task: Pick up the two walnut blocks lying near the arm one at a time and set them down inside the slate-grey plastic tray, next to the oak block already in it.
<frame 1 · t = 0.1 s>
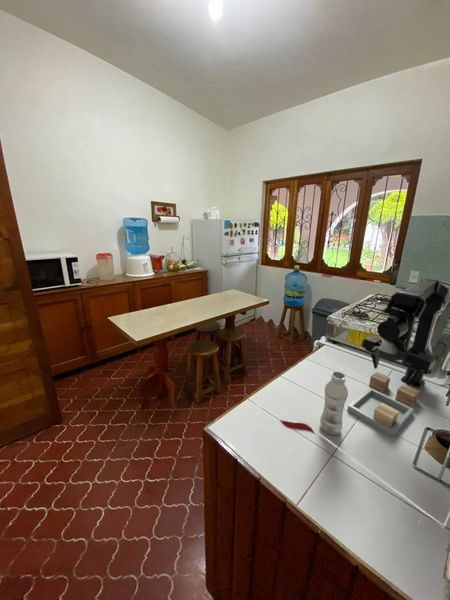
hand: (390, 374, 81), 15 cm above the kitchen counter, fingers open, 9 cm apart
block c: (383, 422, 80), resting on tray
cayenne pepper: (297, 427, 79), on the kitchen counter
block a: (405, 401, 90), on the kitchen counter
block b: (378, 387, 98), on the kitchen counter
tray: (379, 413, 84), on the kitchen counter
plastic bottle: (329, 430, 78), on the kitchen counter
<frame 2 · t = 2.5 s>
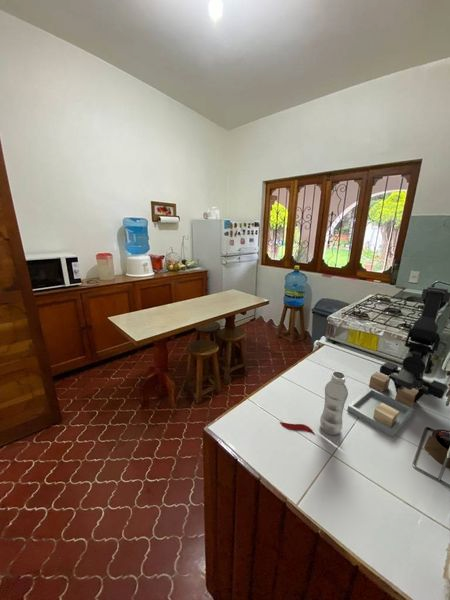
hand: (406, 398, 90), 1 cm above the kitchen counter, fingers closed on block a, 5 cm apart
block a: (405, 401, 90), on the kitchen counter, touching gripper
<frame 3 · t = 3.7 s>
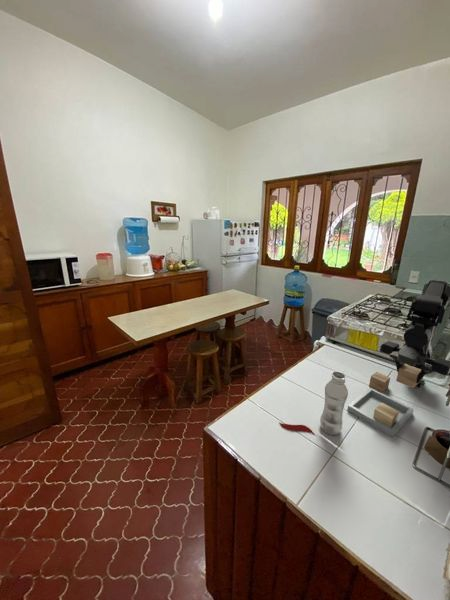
hand: (408, 378, 84), 12 cm above the kitchen counter, fingers closed on block a, 5 cm apart
block a: (407, 381, 84), point 10 cm above the kitchen counter, touching gripper
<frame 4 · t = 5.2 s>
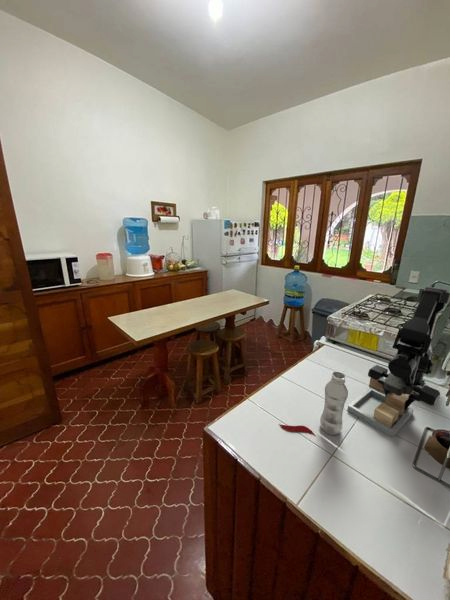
hand: (396, 404, 83), 4 cm above the kitchen counter, fingers closed on block a, 5 cm apart
block a: (395, 407, 84), point 2 cm above the kitchen counter, touching gripper
when the fingers open (3 cm above the kitchen counter, at t = 5.5 s): block a drops 2 cm, resting on tray.
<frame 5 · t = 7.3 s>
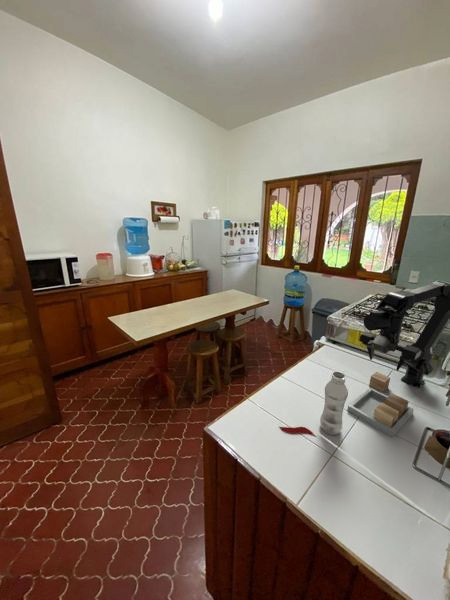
hand: (383, 364, 94), 10 cm above the kitchen counter, fingers open, 9 cm apart
block a: (394, 412, 84), resting on tray
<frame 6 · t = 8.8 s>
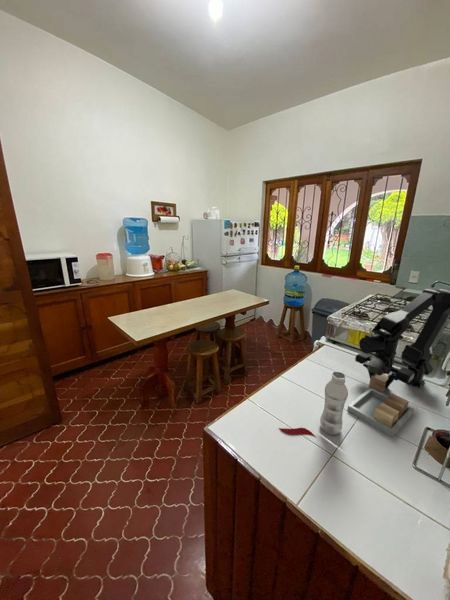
hand: (378, 384, 97), 1 cm above the kitchen counter, fingers closed on block b, 5 cm apart
block b: (378, 387, 98), on the kitchen counter, touching gripper
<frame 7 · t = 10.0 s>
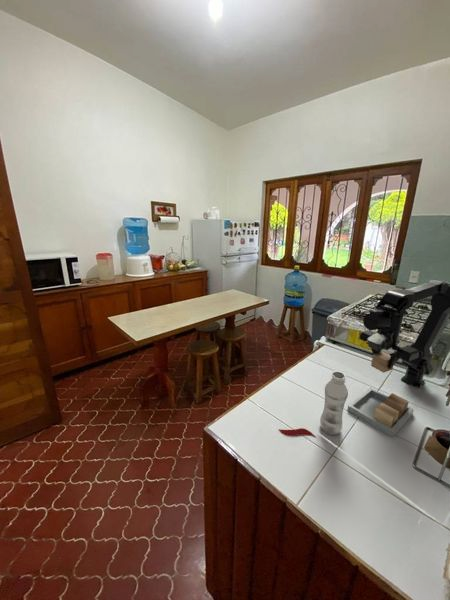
hand: (382, 364, 93), 11 cm above the kitchen counter, fingers closed on block b, 5 cm apart
block b: (381, 367, 93), point 10 cm above the kitchen counter, touching gripper
when the fingers open (3 cm above the kitchen counter, at t = 12.2 s): block b drops 2 cm, resting on tray.
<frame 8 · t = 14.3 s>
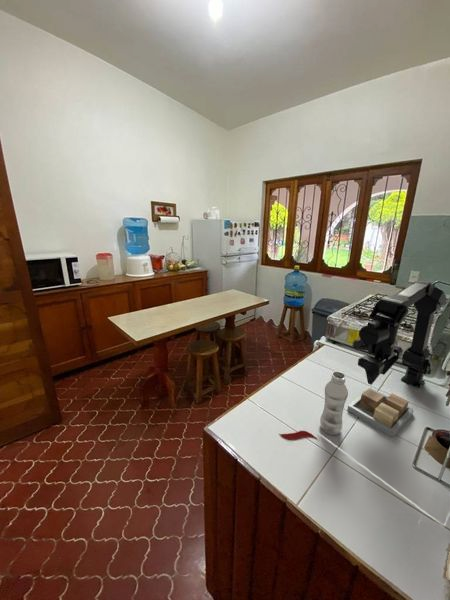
hand: (376, 378, 83), 12 cm above the kitchen counter, fingers open, 9 cm apart
cayenne pepper: (297, 437, 76), on the kitchen counter
block b: (370, 406, 87), resting on tray
everything else where it was.
at the end: block a inside the target area on the tray (5.0 cm from its centre), point 0.5 cm above the tray's base; block b inside the target area on the tray (3.1 cm from its centre), point 0.5 cm above the tray's base; the gripper is holding nothing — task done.
